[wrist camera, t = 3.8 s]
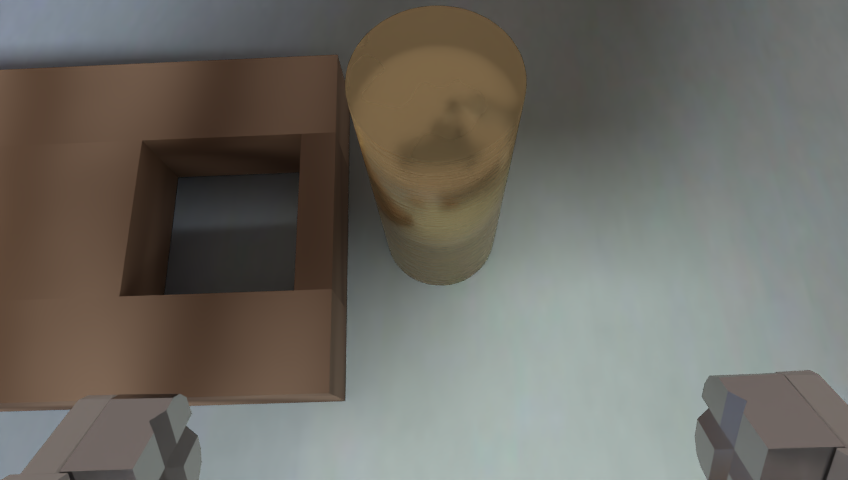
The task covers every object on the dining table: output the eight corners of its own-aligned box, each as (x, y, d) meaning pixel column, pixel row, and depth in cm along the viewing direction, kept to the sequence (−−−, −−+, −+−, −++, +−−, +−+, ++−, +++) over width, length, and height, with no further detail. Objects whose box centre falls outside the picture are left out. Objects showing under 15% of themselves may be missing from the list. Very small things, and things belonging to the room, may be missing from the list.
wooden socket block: (350, 99, 25) (337, 54, 22) (345, 401, 21) (329, 392, 18) (-148, 121, 25) (-223, 79, 22) (-246, 418, 21) (-352, 413, 18)
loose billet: (490, 183, 23) (519, 1, 14) (497, 283, 22) (534, 157, 13) (386, 187, 23) (346, 9, 14) (388, 287, 22) (343, 164, 13)
